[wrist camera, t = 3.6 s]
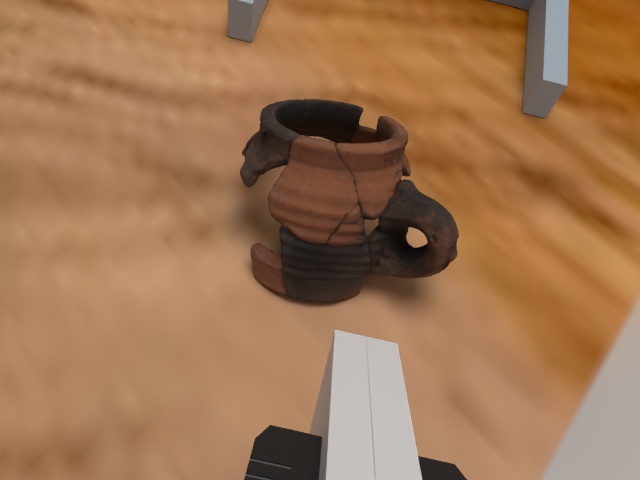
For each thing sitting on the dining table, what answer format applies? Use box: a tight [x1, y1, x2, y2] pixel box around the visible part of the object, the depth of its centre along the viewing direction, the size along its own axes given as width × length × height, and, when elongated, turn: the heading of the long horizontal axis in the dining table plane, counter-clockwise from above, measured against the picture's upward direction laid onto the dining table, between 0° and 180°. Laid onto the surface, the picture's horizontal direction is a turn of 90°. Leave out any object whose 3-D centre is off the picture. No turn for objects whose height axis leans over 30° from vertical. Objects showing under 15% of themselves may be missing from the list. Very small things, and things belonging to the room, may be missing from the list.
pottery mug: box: [240, 99, 459, 303], centre depth 31 cm, size 12×9×8 cm
